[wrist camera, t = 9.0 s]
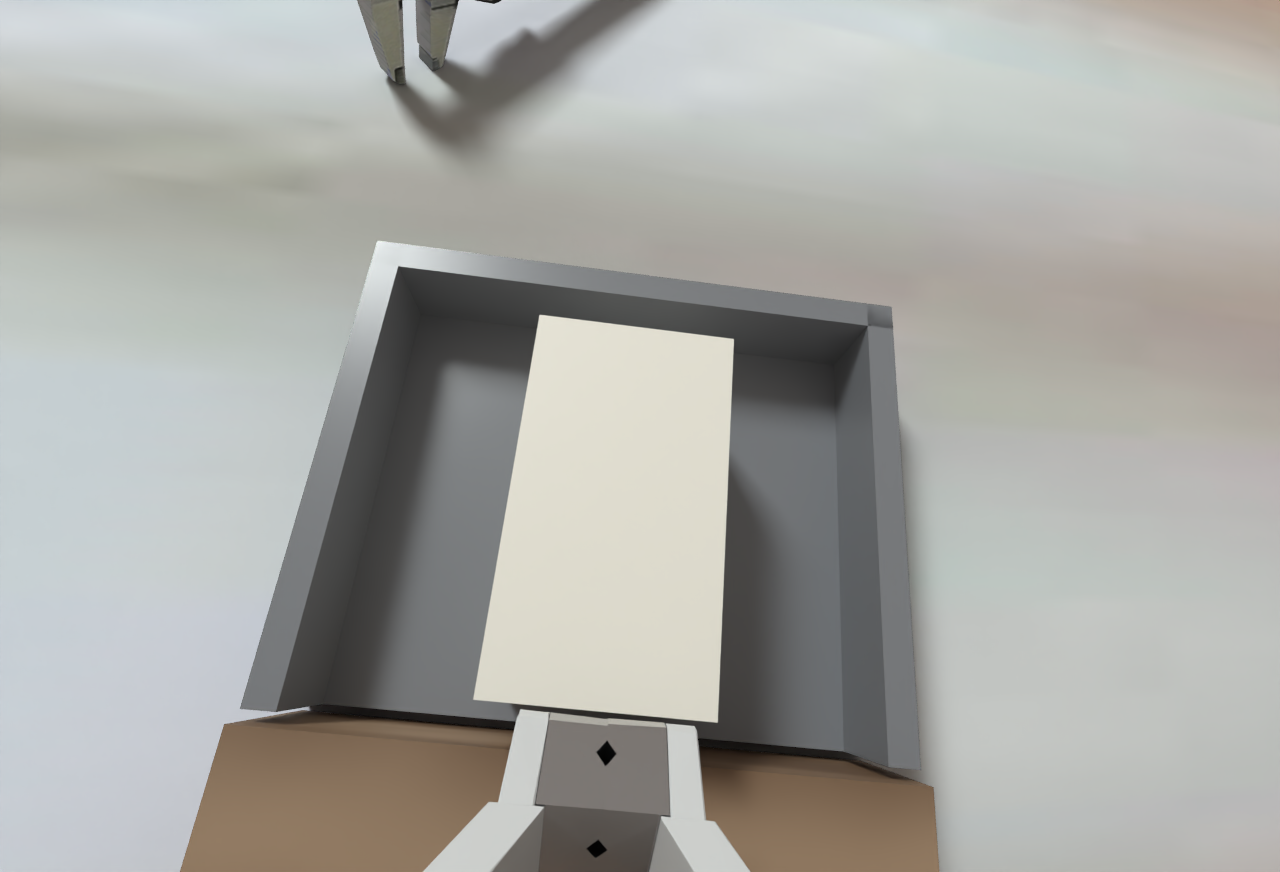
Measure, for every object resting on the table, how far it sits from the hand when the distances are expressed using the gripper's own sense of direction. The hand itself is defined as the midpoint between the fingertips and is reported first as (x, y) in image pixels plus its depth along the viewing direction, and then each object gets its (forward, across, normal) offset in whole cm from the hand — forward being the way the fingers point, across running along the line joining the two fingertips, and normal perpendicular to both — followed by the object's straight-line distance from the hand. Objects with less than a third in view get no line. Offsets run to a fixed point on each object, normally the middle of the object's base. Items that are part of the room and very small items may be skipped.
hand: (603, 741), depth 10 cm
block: (+3, 0, -3) cm, 5 cm away
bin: (+10, 0, -1) cm, 10 cm away
